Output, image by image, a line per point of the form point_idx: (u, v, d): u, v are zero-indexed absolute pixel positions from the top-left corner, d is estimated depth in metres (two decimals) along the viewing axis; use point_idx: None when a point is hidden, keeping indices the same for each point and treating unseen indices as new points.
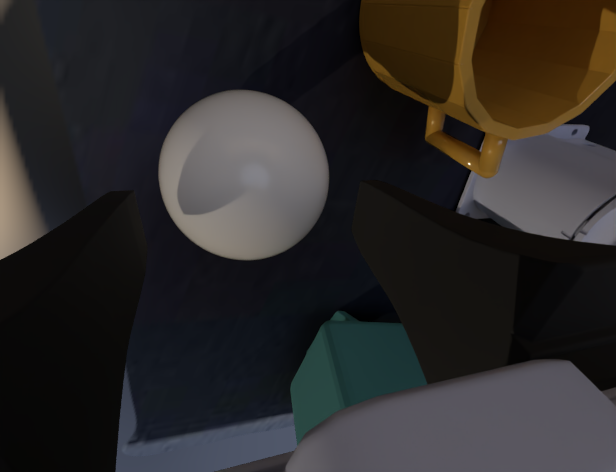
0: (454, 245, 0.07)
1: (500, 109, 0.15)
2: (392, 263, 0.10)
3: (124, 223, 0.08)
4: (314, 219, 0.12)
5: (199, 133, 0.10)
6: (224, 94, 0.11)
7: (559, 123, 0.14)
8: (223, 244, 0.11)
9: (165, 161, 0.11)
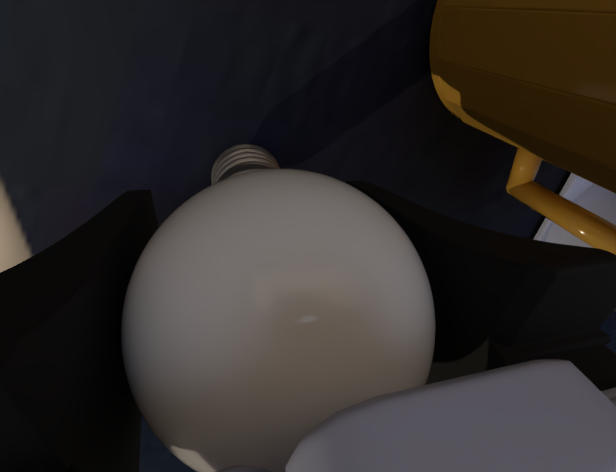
0: (433, 247, 0.07)
1: None
2: None
3: (143, 222, 0.08)
4: None
5: (198, 301, 0.04)
6: (250, 193, 0.05)
7: None
8: None
9: (130, 337, 0.05)
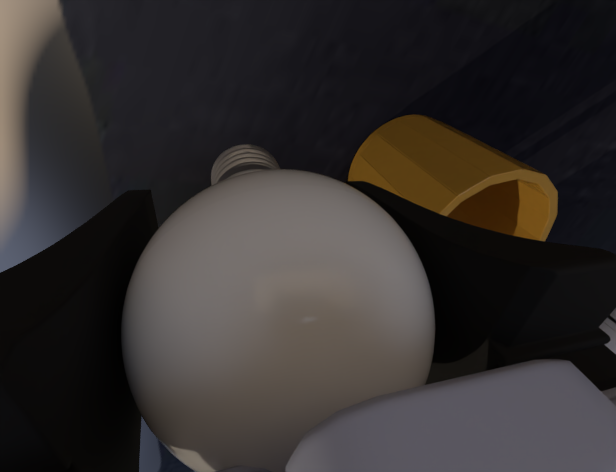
0: (433, 247, 0.07)
1: None
2: None
3: (143, 222, 0.08)
4: None
5: (198, 301, 0.04)
6: (250, 194, 0.05)
7: None
8: None
9: (129, 338, 0.05)
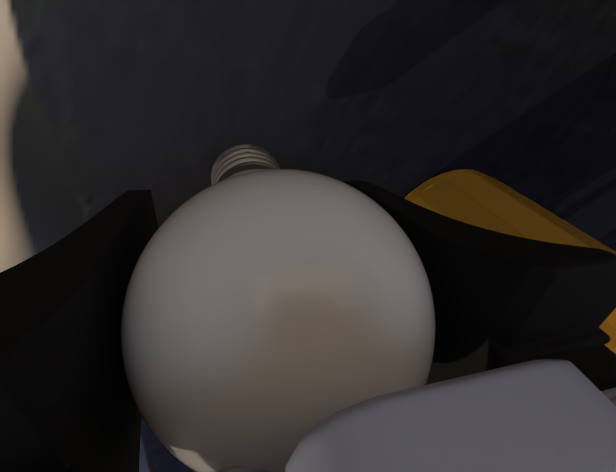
0: (433, 247, 0.07)
1: None
2: None
3: (143, 222, 0.08)
4: None
5: (198, 302, 0.04)
6: (250, 194, 0.05)
7: None
8: None
9: (129, 338, 0.05)
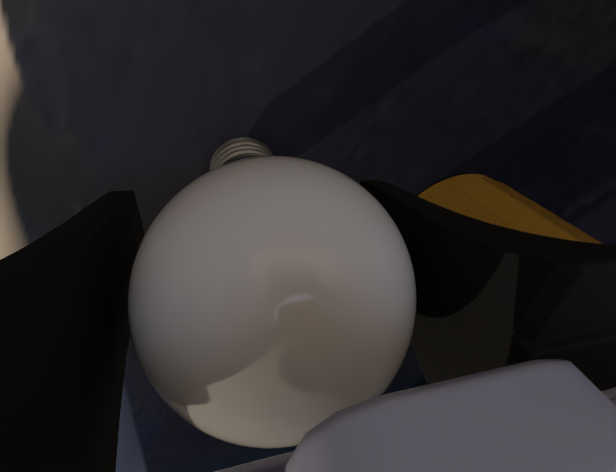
0: (454, 245, 0.07)
1: None
2: None
3: (124, 223, 0.08)
4: None
5: (199, 269, 0.05)
6: (245, 176, 0.06)
7: None
8: (244, 444, 0.06)
9: (136, 305, 0.06)
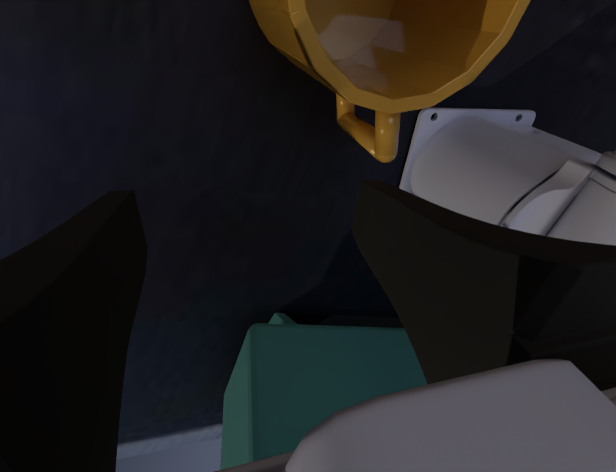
0: (454, 245, 0.07)
1: (391, 81, 0.13)
2: (392, 263, 0.10)
3: (124, 223, 0.08)
4: None
5: None
6: None
7: (446, 94, 0.12)
8: None
9: None
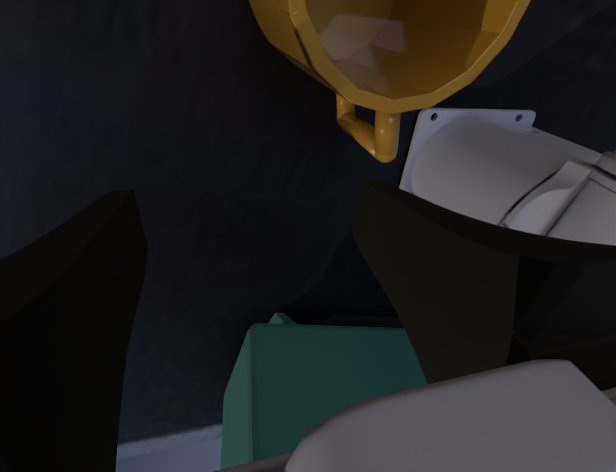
0: (454, 245, 0.07)
1: (391, 81, 0.13)
2: (392, 263, 0.10)
3: (124, 223, 0.08)
4: None
5: None
6: None
7: (446, 94, 0.12)
8: None
9: None
